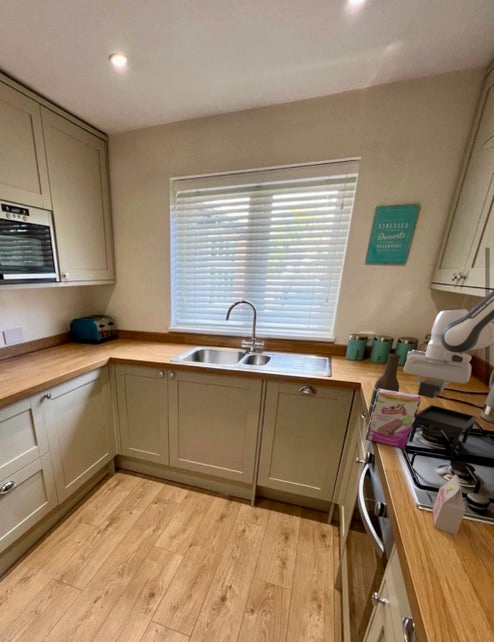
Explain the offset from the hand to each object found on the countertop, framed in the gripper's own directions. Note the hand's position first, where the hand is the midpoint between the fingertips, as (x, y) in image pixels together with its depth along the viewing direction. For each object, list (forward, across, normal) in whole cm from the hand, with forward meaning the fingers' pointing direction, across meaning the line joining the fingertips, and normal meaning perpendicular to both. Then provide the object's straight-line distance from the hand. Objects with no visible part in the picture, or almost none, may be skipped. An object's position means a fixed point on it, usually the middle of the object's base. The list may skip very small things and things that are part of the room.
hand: (430, 389), depth 126 cm
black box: (+2, 0, 0) cm, 2 cm away
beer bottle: (+10, -8, -20) cm, 24 cm away
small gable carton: (+10, +25, -69) cm, 74 cm away
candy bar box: (+10, +2, -40) cm, 41 cm away
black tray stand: (+10, +12, -26) cm, 30 cm away
